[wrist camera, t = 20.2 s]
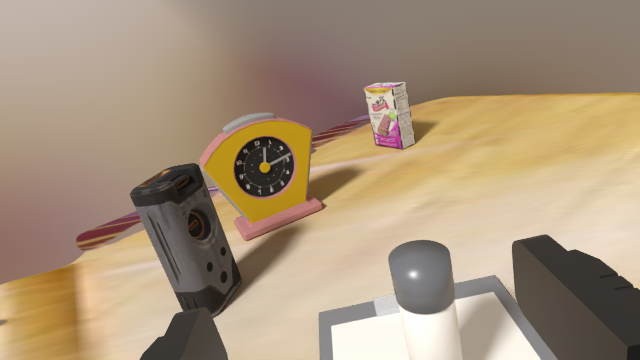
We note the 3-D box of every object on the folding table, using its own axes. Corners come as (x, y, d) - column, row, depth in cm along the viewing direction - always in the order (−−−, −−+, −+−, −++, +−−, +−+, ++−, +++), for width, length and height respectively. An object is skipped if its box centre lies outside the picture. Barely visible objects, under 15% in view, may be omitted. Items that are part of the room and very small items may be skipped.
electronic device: (216, 320, 53) (160, 189, 46) (181, 320, 55) (122, 194, 48) (246, 277, 61) (202, 160, 54) (214, 278, 63) (168, 166, 56)
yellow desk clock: (232, 248, 72) (190, 138, 64) (223, 230, 80) (185, 131, 72) (335, 204, 78) (309, 100, 71) (318, 192, 86) (292, 98, 79)
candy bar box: (374, 146, 108) (362, 87, 102) (387, 139, 110) (376, 82, 104) (403, 150, 98) (391, 86, 93) (416, 143, 101) (406, 81, 95)
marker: (422, 420, 32) (395, 279, 27) (409, 375, 37) (383, 247, 32) (477, 409, 32) (459, 266, 27) (457, 365, 36) (438, 235, 32)
